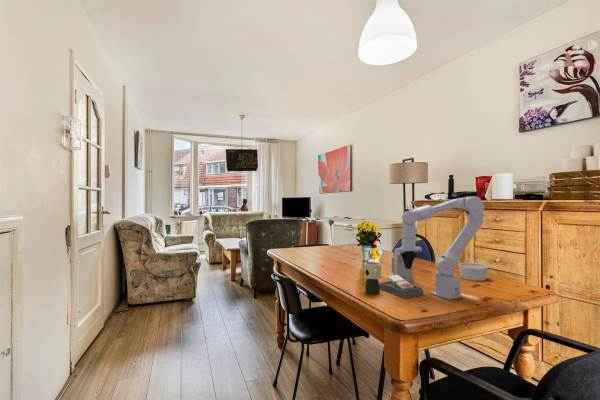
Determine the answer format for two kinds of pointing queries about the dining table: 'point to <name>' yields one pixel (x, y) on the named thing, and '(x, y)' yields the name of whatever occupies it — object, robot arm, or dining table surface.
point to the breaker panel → (396, 290)
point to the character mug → (372, 276)
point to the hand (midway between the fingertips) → (408, 268)
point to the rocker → (400, 282)
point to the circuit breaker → (402, 268)
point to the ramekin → (473, 271)
